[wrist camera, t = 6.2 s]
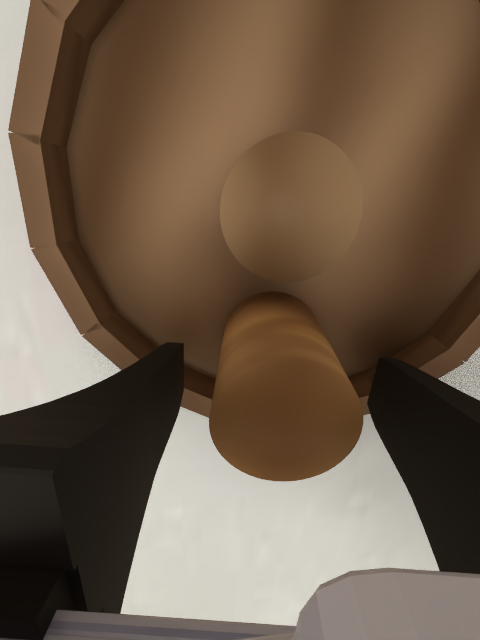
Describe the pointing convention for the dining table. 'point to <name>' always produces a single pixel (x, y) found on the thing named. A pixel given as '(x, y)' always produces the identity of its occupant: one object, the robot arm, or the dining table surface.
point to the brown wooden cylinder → (281, 393)
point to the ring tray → (256, 173)
